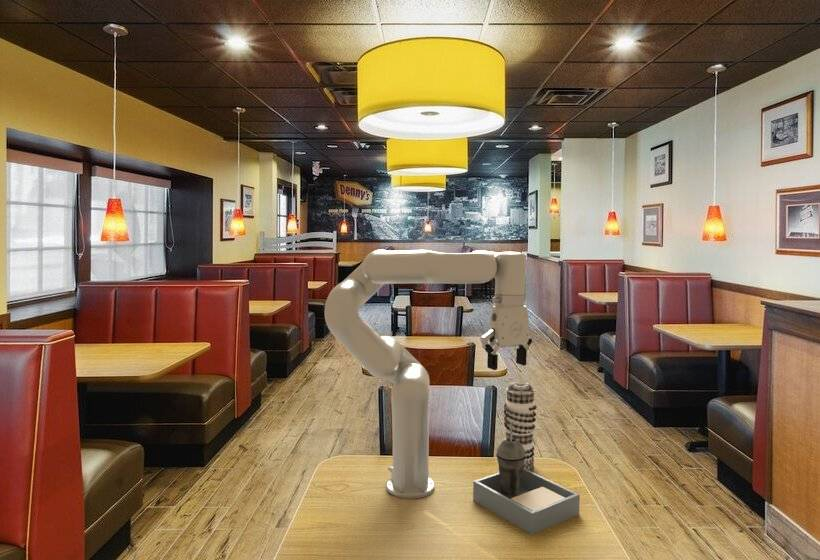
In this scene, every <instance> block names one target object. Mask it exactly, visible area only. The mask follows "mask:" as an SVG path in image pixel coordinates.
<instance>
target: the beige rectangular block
mask: <svg viewBox="0 0 820 560" xmlns="http://www.w3.org/2000/svg"><path fill="white" fill-rule="evenodd" d="M564 498H565V497H563V496H561V495H559V494H557V493H555V492H553V491H551V490H549V489H547V488H545V487H540V488H538V489H535V490H532V491H529V492H527V493H524V494H521V495H519V496H516V497H513V498H511V500H513V501H515V502H517V503H518V504H520V505H522V506H524V507H526V508H528V509H529V510H531V511H534V510H536V509H539V508H541V507H544V506H546V505H549V504H551V503H554V502H556V501H559V500H561V499H564Z"/></svg>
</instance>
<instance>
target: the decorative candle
mask: <svg viewBox="0 0 820 560" xmlns="http://www.w3.org/2000/svg"><path fill="white" fill-rule="evenodd" d="M505 390H506V399H505V402H504V404H503V409H504V410H503V415H504V417H503V419H504V422H503V426H504V431H505V438H504V440H506V439H510V424H512V439H515V440H517V441H519V442H520V443H521V444H522V446H523V448H524V450H525V455H526V457H525V462H524V465H523V468H525V469H527V470H529V471H532V470H533V469H534V467H535V464H534V463H535V457H534V456H535V452H534V451H535V445H534V433H535V430H536V429H535V428H536V425H535V424H534V423H535V422H536V420H537V418H535V417H536V416H537V413H536V412H535V411H536V410H537V408H538V406H537V405H535V392H536V389H535V388H533V386H532V384H531V383H528V382H523V381H513V382H511V383H510V384H509V386H507V387H505Z"/></svg>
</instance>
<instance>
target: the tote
mask: <svg viewBox="0 0 820 560" xmlns="http://www.w3.org/2000/svg"><path fill="white" fill-rule="evenodd" d="M472 484H473V486H472V488H473V489H472V493H473V494H472V495H473V496H472V501H473V502H475V503H477V504H479V506H482V507H483V508H486V509H487V510H488V511H491V512H492V513H494V514H496V515H497V516H498V517H501V518H502V519H504V520H506V521H508V522H509V523H511V524H512V525H514V526H515V527H518V528H520V529H521V530H523V531H524V532H527V533H528V534H530V535H531V536H533V535H535V534H537V533H540V532H542V531H544V530H548V529H549V528H552V527H554V526H556V525H558V524H561V523H562V522H566V521H568V520H570V519H573V518H575V517H577V516H579V515H580V502H581V501H580V499H581V498H580V497H581V495H580V493H578V492H575V491H574V490H571V489H569V488H567V487H565V486H563V485H560V484H558V483H557V482H555V481H552V480H550V479H548V478H545V477H544V476H541V475H540V474H538V473H535V472H534V471H532V470H530V471H529V470H527V469H525V468H523V475H522V486H521V494H524V493H527V492H529V491H532V490H535V489H538V488H540V487H545V488H547V489H549V490H551V491H553V492H555V493H557V494H559V495H561V496H563V497H565V498H564V499H561V500H559V501H556V502H554V503H551V504H549V505H546V506H544V507H541V508H539V509H536V510H534V511H531V510H529V509H528V508H526V507H524V506H522V505H520V504H518V503H517V502H515V501H513V500H511V499H509V498H507V497H506V496H504V495H502V494H501V488H500V476H499V472H496V473H493V474H490V475H487V476H484V477H481V478H478V479H475V480H473V483H472Z"/></svg>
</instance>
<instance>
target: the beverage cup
mask: <svg viewBox="0 0 820 560" xmlns="http://www.w3.org/2000/svg"><path fill="white" fill-rule="evenodd" d="M505 439H506V438H505ZM505 439H504V440H502V441H501V442H500V444H499V445H498V447H497V449H496V454H495V456H496V459H497V464H498V473H499V476H500V488H501V494H502V495H504V496H506V497H507V498H509V499H511V498H513V497H516V496H519V495H521V486H522V475H523V465H524V462H525V457H526V455H525V450H524V448H523V446H522V444H521V443H520V442H519V441H517V440H515V439H512V424H510V439H506V440H505Z"/></svg>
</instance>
